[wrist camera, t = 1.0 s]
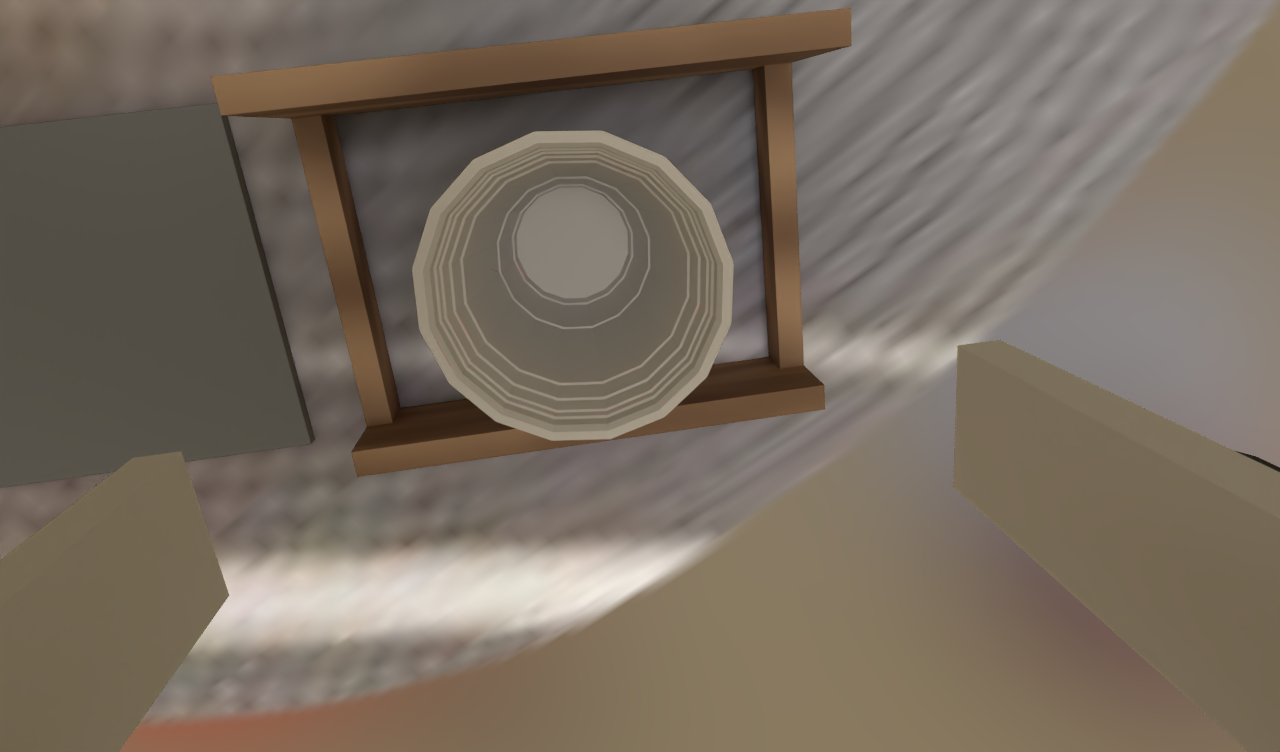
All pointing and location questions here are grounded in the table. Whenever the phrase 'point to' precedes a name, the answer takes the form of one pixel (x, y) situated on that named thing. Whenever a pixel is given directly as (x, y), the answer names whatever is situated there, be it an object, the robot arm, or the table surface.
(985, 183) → the table surface
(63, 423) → the mat
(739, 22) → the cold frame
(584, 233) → the plastic cup
